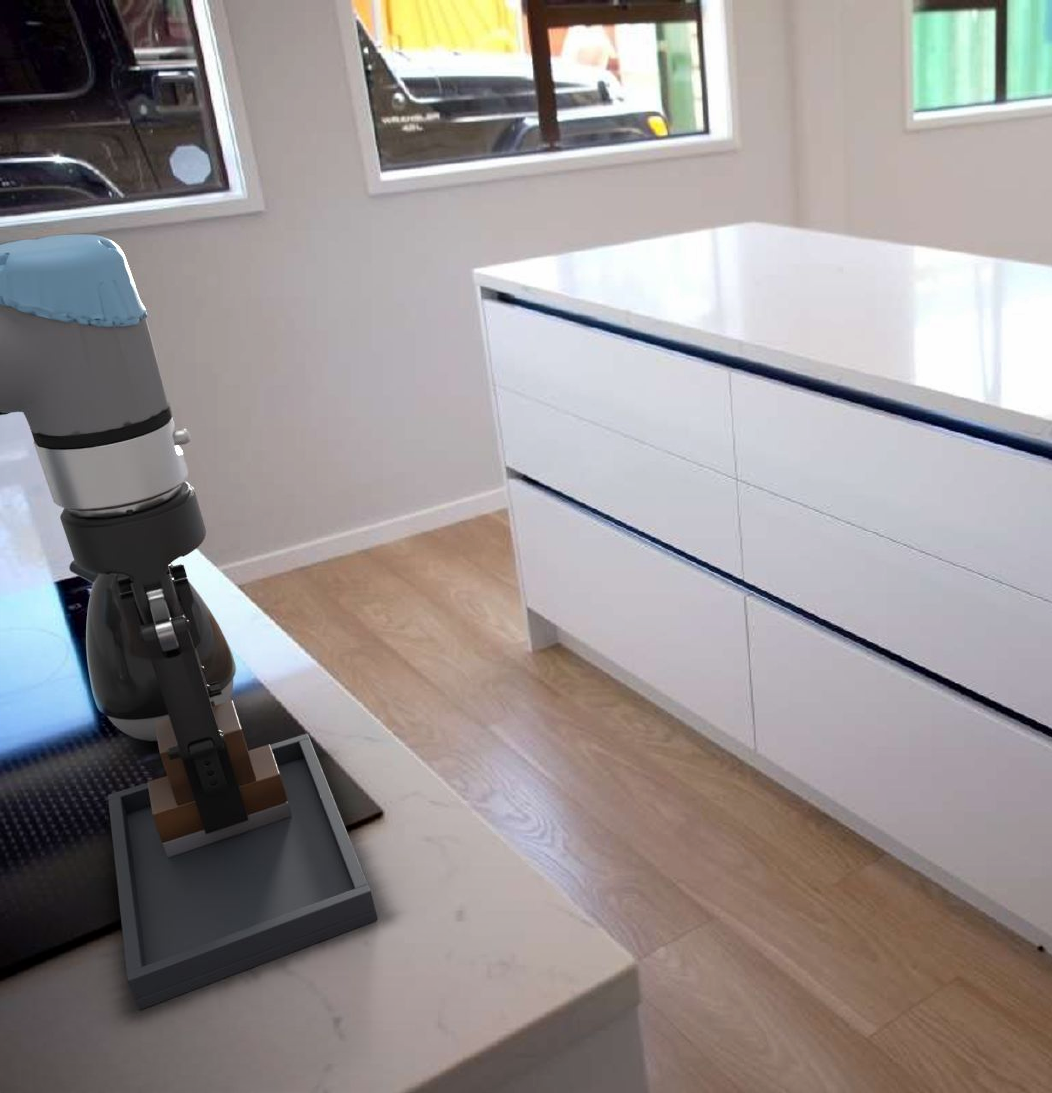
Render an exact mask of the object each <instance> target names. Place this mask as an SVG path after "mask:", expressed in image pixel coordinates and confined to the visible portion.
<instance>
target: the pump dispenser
mask: <svg viewBox="0 0 1052 1093" xmlns="http://www.w3.org/2000/svg"><path fill="white" fill-rule="evenodd" d="M172 566H174V565H173V564H172V563H171V567H172ZM68 567H69V571H70V572H71V573H72V574H75V575H76V576H77V577H80V578H82V579H84V580H86V581H88V582H90V583H92V586H91V589H90V593H89V599H88V605H87V616H86V630H85V636H86V637H85V644H86V645H85V646H86V647H85V648H86V660H87V668H88V669H87V670H88V675H89V676H88V677H89V680H90V687H91V691H92V695H93V699H94V702H95V705H96V708H97V709H98V711H99V712H100V713H102V714H103V715H104V716H106V717H107V718H108V720H109V721H110V723H112V725H114V726H115V727H116V728H117V729H118V730H120V731H121V732H122V733H124V734H126V735H127V736H130V737H132V738H134V739H138V740H141V741H148V742H158V740H157V735H156V729H155V723H157V722H160V721H164V720H167V719H170V718H169V715H168V712H167V709H166V706H165V702H164V699H163V696H162V693H161V690H160V687H159V684H158V681H157V677H156V674H155V671H154V668H153V665H152V662H151V659H149V658H146V657H144V656H143V654H142V652H141V649H140V646H139V642H138V639H137V636H136V633H135V629H134V626H133V623H132V622H131V621H130V620H129V619H127V617H126V616H125V612H124V609H123V606H122V603H121V599H120V595H119V594H121V593H120V590H119V586H118V583H117V579H121V578H125V577H129V576H127V575H124V574H118V573H110V574H97V573H92V572H88V571H86V570H84V569H82V568H80V567H79V566H78V565H77V564H76V562H75V561H74V560H72V561H71V562H70V564H69V566H68ZM189 585H190V588H191V591H192V595H193V598H194V602H193V605H192V609H193V613H194V616H195V620H196V624H197V627H198V630H199V634H200V638H201V641H200V643H199V644H198V645H197V647H196V650H197V653H198V657H199V660H200V663H201V666H203V667H204V669H205V672H206V674H205V676H204V677H205V680H206V684H209V683H213V682H216V681H218V682H219V686H220V689H221V692H222V694H221V695H218V696H214V697H211V698H210V701H213V700H214V702H215V705H219V704H222V703H226V702H229V701H231V697H232V694H233V690H234V678H235V676H236V672H237V665H236V662H235V658H234V655H233V652H232V650H231V647H230V645H229V643H228V641H227V638H226V636H225V635H224V633H223V631H222V629H221V627H220V625H219V623H218V621H217V620H216V617H215V616H214V615H213V613H212V611H211V610H210V608H209V607H208V605H207V604H206V602H205V600H204V599H203V598H202V596H201V595H200V593H199V592H198V591H197V590H196V588H195V587H194V586H193V585H192V583H191V582H190V581H189Z"/></svg>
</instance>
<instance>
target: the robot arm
mask: <svg viewBox="0 0 1052 1093" xmlns="http://www.w3.org/2000/svg"><path fill="white" fill-rule="evenodd" d="M147 312H148V311H147V308H146V307H145V305H144V304H143V303H142V300H141V299H140V295H139V293H138V289H137V287H136V283H135V281H134V278H133V274H132V272H131V269H130V266H129V264H128V260H127V258H126V255H125V253H124V252H123V250H122V249H121V247H120V246H119V245H118V244H117V243H116V242H114V241H113V240H111V239H110V238H107V237H105V236H102V235H101V236H100V235H97V234H96V235H95V234H82V233H81V234H61V235H50V236H44V237H41V238H33V239H21V240H15V241H11V242H6V243H2V244H0V416H3V415H4V416H6V415H9V414H11V413H23V415H24V417H25V419H26V421H27V424H28V426H29V430H30V432H31V436H32V439H33V446H34V448H35V452H36V454H37V457H38V460H39V463H40V466H41V468H42V471H43V475H44V478H45V481H46V484H47V486H48V489H49V492H50V495H51V498H52V501H53V503H54V504H55V505H57V506H58V507H60V508H63V510H62V512H61V514H60V518H59V519H60V522H61V525H62V528H63V531H64V533H65V537H66V540H67V542H68V547H69V548H70V552H71V555H72V557H73V561H75V562H76V564H77V565H78V566H79V567H80V568H82V569H84V570H86V571H88V572H92V573H97V574H110V573H118V574H124V575H127V576H129V577H125V578H121V579H117V583H118V586H119V590H120V593H121V594H119V595H120V599H121V603H122V606H123V609H124V612H125V616H126V617H127V619H129V620H130V621H131V622H132V623H133V626H134V629H135V633H136V636H137V639H138V642H139V646H140V649H141V652H142V654H143V656H144V657H146V658H149V659H151V662H152V665H153V668H154V671H155V674H156V677H157V681H158V684H159V687H160V690H161V693H162V696H163V699H164V702H165V706H166V709H167V712H168V715H169V718H170V721H171V724H172V727H173V731H174V734H175V737H176V740H177V743H178V744H177V746H175V747H172V748H168V755H169V758H170V760H172V759H175V758H179V757H181V759H182V761H183V764H184V767H185V770H186V773H187V777H188V780H189V783H190V786H191V789H192V792H193V795H194V799H195V802H196V805H197V808H198V811H199V814H200V817H201V820H202V824H203V827H204V830H205V833H206V834H208V833H211V832H214V831H217V830H220V829H223V828H226V827H229V826H232V825H235V824H238V823H241V822H244V821H247V820H249V819H248V816H247V812H246V809H245V806H244V802H243V799H242V796H241V792H240V789H239V786H238V782H237V779H236V776H235V772H234V769H233V766H232V762H231V759H230V756H229V752H228V749H227V746H226V742H225V739H224V736H223V733H222V731H220V730H219V728H218V725H217V721H216V718H215V715H214V711H213V708H212V706H215V702H214V700H213V701H210V698H211V697H214V696H218V695H221V694H222V692H221V689H220V686H219V682H218V681H216V682H213V683H209V684H206V680H205V677H204V676H205V674H206V672H205V669H204V667H203V666H201V663H200V660H199V657H198V653H197V650H196V647H197V645H198V644H199V643H200V641H201V638H200V634H199V630H198V627H197V624H196V620H195V616H194V613H193V609H192V605H193V602H194V598H193V595H192V591H191V588H190V585H189V582H190V581H189V578H188V575H187V571H186V567H185V564H184V563H181V564H175V565H173V566H172V567H171V564H172V563H173V562H174V561H176V560H178V559H179V558H181V557H183V558H185V557H186V556H188V555H189V554H191V553H193V552H194V551H195V550H196V549H198V548H199V547H200V546H201V545H202V544H203V542H204V541H205V538H206V537H207V536H206V535H207V529H206V526H205V521H204V518H203V515H202V511H201V508H200V504H199V501H198V500H199V499H198V498H197V493H196V489H195V487H194V486H193V485H191V484H190V483H189V482H187V481H186V479H187V478H188V476H189V469H188V466H187V463H186V459H185V456H184V452H183V449H182V448H181V447H180V446H184V445H187V444H189V443H191V440H192V437H191V434H190V432H189V431H188V430H187V429H186V428H178V429H176V430H175V428H176V427H175V426H176V423H175V421H174V419H173V411H172V409H171V405H170V403H169V402H170V401H169V399H168V395H167V392H166V388H165V383H164V379H163V376H162V372H161V368H160V366H159V361H158V357H157V352H156V349H155V345H154V341H153V338H152V335H151V330H150V327H149V323H148V319H147V318H148V317H149V315H148V313H147Z"/></svg>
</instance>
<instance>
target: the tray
mask: <svg viewBox="0 0 1052 1093" xmlns="http://www.w3.org/2000/svg"><path fill="white" fill-rule="evenodd" d="M270 745H271V748H272V751H273V754H274V757H275V760H276V763H277V766H278V769H279V772H280V775H281V779H282V782H283V786H284V789H285V793H286V796H287V800H288V803H289V807H290V810H291V814H292V816H291V817H288V818H285V819H282V820H279V821H276V822H273V823H270V824H267V825H264V826H261V827H258V828H255V829H252V830H249V831H246V832H243V833H240V834H237V835H234V836H231V837H228V838H225V839H222V840H219V841H216V842H213V843H210V844H207V845H204V846H201V847H198V848H195V849H193V850H190V851H187V852H184V853H181V854H178V855H175V856H172V857H169V858H168V857H167V856H166V853H165V850H164V847H163V844H162V841H161V838H160V835H159V832H158V829H157V826H156V823H155V820H154V817H153V814H152V808H151V801H150V795H149V789H148V782H146V783H141V784H139V785H135V786H133V787H129V788H126V789H122V790H119V791H116V792H112V793H109V794H108V795H107V802H108V810H109V819H110V821H109V822H110V829H111V830H110V831H111V838H112V847H113V858H114V865H115V877H116V884H117V885H116V886H117V895H118V903H119V913H120V923H121V931H122V941H123V951H124V960H125V968H126V970H125V971H126V978H127V980H126V981H127V983H128V985H129V988H130V991H131V994H132V996H133V999H134V1002H135V1004H136V1007H137V1009H138V1011H142V1010H143V1009H146V1008H150V1007H152V1006H154V1005H155V1006H156V1005H157V1004H160V1003H162V1002H164V1001H168V1000H170V999H173V998H176V997H178V996H180V995H183V994H186V993H189V992H191V991H194V990H196V989H199V988H202V987H205V986H207V985H211V984H213V983H215V982H218V981H221V980H222V979H226V978H228V977H231V976H233V975H236V974H239V973H242V972H245V971H247V970H249V969H252V968H254V967H258V966H260V965H262V964H265V963H268V962H270V961H273V960H276V959H278V958H281V957H285V956H286V955H289V954H291V953H294V952H296V951H299V950H303V949H304V948H307V947H310V946H313V945H315V944H318V943H321V942H323V941H326V940H328V939H331V938H333V937H336V936H338V935H342V934H344V933H347V932H349V931H352V930H354V929H357V928H360V927H362V926H365V925H368V924H370V923H373V922H376V921H378V920H379V917H378V914H377V910H376V906H375V902H374V899H373V898H374V897H373V895H372V894H373V893H372V891H371V888H370V886H369V882H368V881H367V880H368V879H367V878H366V875H365V873H364V871H363V868H362V866H361V863H360V860H359V858H358V856H357V852H356V850H355V848H354V846H353V843H352V840H351V838H350V834H348V830H347V828H346V826H345V823H344V821H343V818H342V816H341V812H340V810H339V807H338V805H337V803H336V801H335V798H334V796H333V793H332V790H331V788H330V785H329V784H328V781H327V778H326V775H325V773H324V771H323V767H322V765H321V762H320V760H319V757H318V755H317V753H316V751H315V747H314V744H313V743H312V741H311V737H310V735H309V733H304V734H301V735H299V736H295V737H292V738H288V739H285V740H282V741H278V742H276V743H272V744H270Z"/></svg>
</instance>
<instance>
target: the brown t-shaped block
mask: <svg viewBox="0 0 1052 1093" xmlns="http://www.w3.org/2000/svg"><path fill="white" fill-rule="evenodd" d="M212 708H213V711H214V715H215V718H216V721H217V725H218V728H219V730H220V731H222V733H223V736H224V739H225V742H226V746H227V749H228V752H229V756H230V759H231V762H232V766H233V769H234V772H235V776H236V779H237V782H238V786H239V789H240V792H241V796H242V799H243V802H244V806H245V809H246V812H247V816H248V819H249V820H247V821H244V822H241V823H238V824H235V825H232V826H229V827H226V828H223V829H220V830H217V831H214V832H211V833H208V834H206V833H205V830H204V827H203V824H202V820H201V817H200V814H199V811H198V808H197V805H196V802H195V799H194V795H193V792H192V789H191V786H190V783H189V780H188V777H187V773H186V770H185V767H184V764H183V761H182V759H181V757H179V758H175V759H172V760H170V758H169V755H168V748H172V747H175V746H177V744H178V743H177V740H176V737H175V734H174V731H173V727H172V724H171V721H170V719H167V720H164V721H160V722H157V723H155V729H156V735H157V740H158V741H157V745H158V751H159V755H160V758H161V759H160V760H161V761H162V764H163V768H164V770H165V774H166V776H161V777H159V778H155V779H152V780H148V781H147V783H148V789H149V795H150V801H151V808H152V814H153V817H154V820H155V823H156V826H157V829H158V832H159V835H160V838H161V841H162V844H163V847H164V850H165V853H166V856H167V857H168V858H169V857H172V856H175V855H178V854H181V853H184V852H187V851H190V850H193V849H195V848H198V847H201V846H204V845H207V844H210V843H213V842H216V841H219V840H222V839H225V838H228V837H231V836H234V835H237V834H240V833H243V832H246V831H249V830H252V829H255V828H258V827H261V826H264V825H267V824H270V823H273V822H276V821H279V820H282V819H285V818H288V817H291V816H292V814H291V810H290V807H289V803H288V800H287V796H286V793H285V789H284V786H283V782H282V779H281V775H280V772H279V769H278V766H277V763H276V760H275V757H274V754H273V751H272V748H271V745H272V744H266V745H263V746H259V747H257V748H253V749H250V750H248V749H249V748H248V746H247V742H246V739H245V735H244V733H243V728H242V725H241V722H240V719H239V715H238V712H237V709H236V706H235V703H234V701H233V700H229V702H226V703H222V704H219V705H215V706H212Z"/></svg>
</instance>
